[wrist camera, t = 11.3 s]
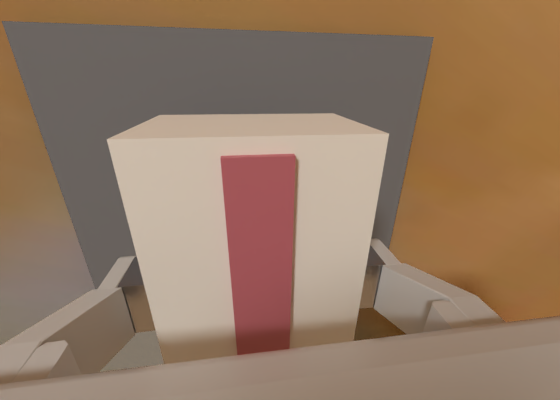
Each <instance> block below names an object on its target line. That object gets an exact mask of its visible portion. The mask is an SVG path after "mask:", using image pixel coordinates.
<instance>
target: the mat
mask: <svg viewBox="0 0 560 400" xmlns="http://www.w3.org/2000/svg"><path fill="white" fill-rule="evenodd" d="M2 23H3V26H4V29H5V32H6V34H7V37H8V40H9V43H10V46H11V49H12V52H13V54H14V57H15V60H16V63H17V66H18V69H19V72H20V75H21V77H22V80H23V83H24V86H25V89H26V92H27V95H28V97H29V100H30V103H31V106H32V109H33V112H34V115H35V117H36V120H37V123H38V126H39V129H40V132H41V135H42V137H43V140H44V143H45V146H46V149H47V152H48V155H49V157H50V160H51V163H52V166H53V169H54V172H55V175H56V177H57V180H58V183H59V186H60V189H61V192H62V195H63V197H64V200H65V203H66V206H67V209H68V212H69V215H70V217H71V220H72V223H73V226H74V229H75V232H76V235H77V237H78V240H79V243H80V246H81V249H82V252H83V255H84V257H85V260H86V263H87V266H88V269H89V272H90V275H91V277H92V280H93V283H94V286H95V289H98V287H99V286H100V284H101V283H102V282H103V280H104V279H105V277H106V276H107V274H108V273H109V271H110V270H111V268H112V267H113V265H114V264H115V262H116V261H117V259H118V258H120V257H123V256H136V252H135V248H134V244H133V240H132V236H131V232H130V228H129V224H128V221H127V217H126V213H125V209H124V205H123V201H122V197H121V193H120V189H119V185H118V182H117V178H116V174H115V170H114V166H113V162H112V158H111V154H110V150H109V147H108V143H107V139H108V138H111V137H113V136H115V135H117V134H119V133H121V132H124V131H126V130H128V129H130V128H132V127H135V126H137V125H139V124H141V123H143V122H145V121H148V120H150V119H152V118H154V117H156V116H159V115H205V114H314V113H334V114H337V115H339V116H342V117H345V118H347V119H350V120H353V121H356V122H358V123H361V124H364V125H367V126H369V127H372V128H375V129H378V130H380V131H383V132H386V133H389V138H388V143H387V149H386V155H385V161H384V167H383V173H382V178H381V184H380V190H379V196H378V202H377V207H376V213H375V219H374V225H373V231H372V237H371V239H376V238H377V239H379V240H380V241H381V242H382V243H383V244H384V245H385V246H386V247H387V248H388V250H389V245H390V240H391V236H392V231H393V226H394V222H395V217H396V212H397V207H398V203H399V198H400V193H401V189H402V184H403V179H404V174H405V170H406V165H407V160H408V156H409V151H410V146H411V142H412V137H413V132H414V127H415V123H416V118H417V113H418V109H419V104H420V99H421V94H422V90H423V85H424V80H425V76H426V71H427V66H428V61H429V57H430V52H431V47H432V43H433V38H434V37H420V36H393V35H366V34H339V33H311V32H284V31H257V30H230V29H202V28H175V27H148V26H121V25H93V24H66V23H39V22H12V21H2Z"/></svg>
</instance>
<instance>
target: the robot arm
mask: <svg viewBox="0 0 560 400" xmlns="http://www.w3.org/2000/svg"><path fill="white" fill-rule="evenodd" d="M373 307H374V309H375V310H376V311H378V312H379V313H380V314H381V315H383V316H384V317H385V318H386V319H388V320H389V321H390V322H392V323H393V324H394V325H395V326H397V327H398V328H399V329H401V330H402V331H403V332H404V333H406V334H407V335H399V336H391V337H383V338H374V339H366V340H358V341H349V342H341V343H333V344H324V345H316V346H308V347H300V348H292V349H284V350H276V351H268V352H260V353H251V354H243V355H235V356H227V357H219V358H211V359H203V360H195V361H187V362H179V363H170V364H162V365H154V366H146V367H138V368H130V369H122V370H113V371H105V372H100V370H101V369H102V368H103V367H104V366H105V365H106V364H107V363H108V362H109V361H110V360H111V359H112V358H113V357H114V356H115V355H116V354H117V353H118V352H119V351H120V350H121V349H122V348H123V347H124V346H125V344H126V343H127V342H128V341H129V340H130V339H131V338H132V337H133V336H134V335H135V333H138V332H145V331H153V330H155V326H154V322H153V318H152V314H151V310H150V306H149V302H148V298H147V294H146V291H145V287H144V283H143V279H142V275H141V271H140V267H139V263H138V259H137V256H123V257H120V258H118V259H117V261H116V262H115V264H114V265H113V267H112V268H111V270H110V271H109V273H108V274H107V276H106V277H105V279H104V280H103V282H102V283H101V284H100V286H99V287H98V289H96V290H91V291H89V292H88V293H86V294H84V295H83V296H81V297H79V298H78V299H76V300H74V301H73V302H71V303H69V304H68V305H66V306H65V307H63V308H61V309H60V310H58V311H56V312H55V313H53V314H51V315H50V316H48V317H46V318H45V319H43V320H41V321H40V322H38V323H37V324H35V325H33V326H32V327H30V328H28V329H27V330H25V331H23V332H22V333H20V334H18V335H17V336H15V337H14V338H12V339H10V340H9V341H7V342H5V343H4V344H2V345H0V400H560V316H553V317H545V318H536V319H528V320H520V321H512V322H505V321H504V320H503V319H502V318H501V317H499V316H498V315H497V314H496V313H495V312H494V311H493V310H492V309H491V308H490V307H488V306H487V305H486V304H485V303H484V302H483V301H482V300H481V299H480V298H479V297H478V296H476V295H474V294H472V293H469V292H467V291H465V290H463V289H461V288H458V287H456V286H454V285H452V284H450V283H447V282H445V281H443V280H441V279H439V278H436V277H434V276H432V275H430V274H428V273H425V272H423V271H421V270H419V269H416V268H414V267H412V266H410V265H408V264H405V263H403V264H401V263H400V262H399V261H398V260H397V259H396V257H395V256H394V255H393V254H392V253H391V252H390V251H389V250H388V248H387V247H386V246H385V245H384V244H383V243H382V242H381V241H380V240H379V239H377V238H376V239H371V242H370V248H369V254H368V260H367V266H366V271H365V277H364V283H363V289H362V295H361V301H360V306H359V309H360V308H373Z"/></svg>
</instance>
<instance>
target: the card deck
mask: <svg viewBox="0 0 560 400" xmlns="http://www.w3.org/2000/svg"><path fill="white" fill-rule="evenodd" d="M388 138H389V133H386V132H383V131H380V130H378V129H375V128H372V127H369V126H367V125H364V124H361V123H358V122H356V121H353V120H350V119H347V118H345V117H342V116H339V115H337V114H334V113H314V114H205V115H159V116H156V117H154V118H152V119H150V120H148V121H145V122H143V123H141V124H139V125H137V126H135V127H132V128H130V129H128V130H126V131H124V132H121V133H119V134H117V135H115V136H113V137H111V138H108V139H107V143H108V147H109V150H110V154H111V158H112V162H113V166H114V170H115V174H116V178H117V182H118V185H119V189H120V193H121V197H122V201H123V205H124V209H125V213H126V217H127V221H128V224H129V228H130V232H131V236H132V240H133V244H134V248H135V252H136V256H137V259H138V263H139V267H140V271H141V275H142V279H143V283H144V287H145V291H146V294H147V298H148V302H149V306H150V310H151V314H152V318H153V322H154V326H155V330H156V333H157V337H158V341H159V345H160V349H161V353H162V357H163V361H164V364H170V363H179V362H187V361H195V360H203V359H211V358H219V357H227V356H235V355H243V354H251V353H260V352H268V351H276V350H284V349H292V348H300V347H308V346H316V345H324V344H333V343H341V342H349V341H354V335H355V330H356V324H357V318H358V312H359V306H360V301H361V295H362V289H363V283H364V277H365V271H366V266H367V260H368V254H369V248H370V242H371V237H372V231H373V225H374V219H375V213H376V207H377V202H378V196H379V190H380V184H381V178H382V173H383V167H384V161H385V155H386V149H387V143H388Z"/></svg>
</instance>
